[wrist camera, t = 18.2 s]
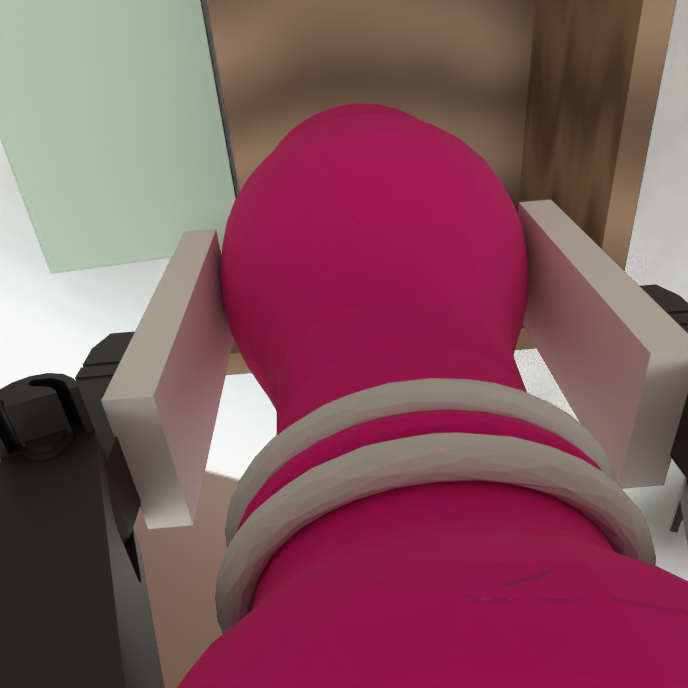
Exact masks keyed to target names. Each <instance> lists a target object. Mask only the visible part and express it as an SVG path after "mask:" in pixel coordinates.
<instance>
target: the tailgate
mask: <svg viewBox="0 0 688 688" xmlns="http://www.w3.org/2000/svg"><path fill="white" fill-rule="evenodd" d="M0 139H1V141H2V144H3V147H4V149H5V152H6V155H7V157H8V160H9V163H10V166H11V168H12V171H13V174H14V176H15V179H16V182H17V184H18V187H19V190H20V192H21V195H22V198H23V200H24V203H25V206H26V208H27V211H28V214H29V217H30V219H31V222H32V225H33V227H34V230H35V233H36V235H37V238H38V241H39V243H40V246H41V249H42V251H43V254H44V257H45V259H46V262H47V265H48V268H49V270H50V273H51V274H53V273H61V272H68V271H75V270H82V269H90V268H97V267H104V266H112V265H119V264H126V263H133V262H141V261H148V260H155V259H162V258H170V257H172V256H173V254H174V252H175V250H176V248H177V246H178V244H179V242H180V240H181V237H182V235H183V233H184V232H186V231H198V230H209V229H216V231H217V236H218V241H219V246H220V251H221V250H222V245H223V239H224V234H225V229H226V224H227V220H228V217H229V215H230V212H231V210H232V207H233V204H234V202H235V200H236V195H235V189H234V184H233V178H232V172H231V167H230V161H229V155H228V150H227V144H226V138H225V133H224V127H223V121H222V116H221V110H220V104H219V99H218V93H217V87H216V82H215V76H214V71H213V65H212V59H211V54H210V48H209V42H208V37H207V31H206V25H205V20H204V14H203V8H202V3H201V0H0Z"/></svg>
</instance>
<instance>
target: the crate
mask: <svg viewBox="0 0 688 688" xmlns="http://www.w3.org/2000/svg"><path fill="white" fill-rule="evenodd" d="M206 1H207V7H208V12H209V18H210V24H211V30H212V36H213V41H214V47H215V53H216V59H217V65H218V70H219V76H220V82H221V88H222V93H223V99H224V105H225V111H226V117H227V122H228V128H229V134H230V140H231V146H232V151H233V157H234V163H235V169H236V175H237V180H238V186H239V192H240V191H241V189H242V188H243V186H244V184H245V182H246V181H247V179H248V178H249V177H250V176H251V174H252V173H253V172H254V170H255V169H256V168H257V167H258V166H259V165H260V164H261V163H262V161H264V160H265V159H266V158H267V157H268V156H269V155H270V154H271V153H272V152H273V151H274V149H275V148H276V147H277V145H278V144H279V143H280V141H281V140H282V139H283V138H284V137H285V136H286V135H287V134H288V133H289V132H290V131H291V130H292V129H293V128H295V127H296V126H297V125H299V124H300V123H301V122H303V121H304V120H306V119H308V118H310V117H311V116H313V115H315V114H317V113H319V112H322V111H324V110H327V109H330V108H333V107H337V106H342V105H348V104H356V103H365V104H379V105H384V106H389V107H392V108H395V109H399V110H401V111H404V112H406V113H408V114H410V115H412V116H414V117H416V118H417V119H419V120H420V121H423V122H426V123H430V124H432V125H435V126H437V127H439V128H440V129H442V130H444V131H446V132H448V133H450V134H452V135H454V136H456V137H458V138H460V139H461V140H462V141H464V142H465V143H466V144H467V145H468V146H469V147H471V148H472V149H473V150H474V151H475V152H477V153H478V154H479V155H480V156H481V157H482V158H484V160H485V161H486V162H487V164H488V165H489V166H490V168H491V169H492V170H493V171H494V173H495V174H496V175H497V177H498V178H499V179H500V180H501V182H502V184H503V186H504V187H505V189H506V191H507V193H508V195H509V197H510V198H511V200H512V202H513V204H514V206H515V209H516V211H517V213H518V208H519V202H528V201H540V200H552V201H553V202H554V203H555V204H556V205H557V206H558V207H559V208H560V209H561V210H562V211H563V212H564V213H565V214H566V215H567V216H568V217H569V218H570V219H571V220H572V221H573V222H574V223H575V224H576V225H577V226H578V227H579V228H580V229H581V230H583V231H584V232H585V233H586V234H587V235H588V236H589V237H590V238H591V239H592V240H593V241H594V242H595V243H596V244H597V245H598V246H599V247H600V248H601V249H602V250H603V251H604V252H605V253H606V254H607V255H608V256H609V257H610V258H611V259H612V260H613V261H614V262H615V263H616V264H617V265H618V266H619V267H620V268H621V269H622V270H623V271H625V265H626V260H627V255H628V250H629V245H630V239H631V234H632V229H633V224H634V219H635V213H636V208H637V203H638V198H639V193H640V187H641V182H642V177H643V172H644V167H645V162H646V156H647V151H648V146H649V141H650V136H651V130H652V125H653V120H654V115H655V110H656V104H657V99H658V94H659V89H660V84H661V78H662V73H663V68H664V63H665V58H666V52H667V47H668V42H669V37H670V32H671V27H672V21H673V16H674V11H675V6H676V1H677V0H206ZM534 348H536V346H535V345H534V343H533V341H532V339H531V338H530V336H529V334H528V333H527V331H526V329H525V327H524V326H523V324H522V328H521V331H520V334H519V338H518V341H517V345H516V348H515V350H522V349H534ZM245 373H252V372H251V371H250V370H249V368H248V367H247V365H246V363H245V361H244V359H243V357H242V355H241V353H240V351H239V349H238V347H237V344H236V342H235V340H234V338H233V343H232V348H231V352H230V357H229V362H228V366H227V371H226V375H233V374H245Z"/></svg>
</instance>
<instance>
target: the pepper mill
mask: <svg viewBox="0 0 688 688" xmlns="http://www.w3.org/2000/svg"><path fill="white" fill-rule="evenodd" d="M220 276H221V288H222V300H223V306H224V309H225V313H226V316H227V320H228V323H229V326H230V330H231V333H232V336H233V338H234V340H235V342H236V344H237V347H238V349H239V351H240V353H241V355H242V357H243V359H244V361H245V363H246V365H247V367H248V368H249V370H250V371H251V372H252V374H253V375H254V377H255V378H256V380H257V381H258V383H259V384H260V385H261V387H262V388H263V390H264V391H265V393H266V394H267V395H268V397H269V398H270V400H271V402H272V404H273V405H274V407H275V409H276V411H277V435H276V436H275V437H274V438H273V439H272V440H271V441H270V442H269V443H268V444H267V445H266V446H265V447H264V448H263V449H262V450H261V451H260V452H259V454H258V455H257V456H256V457H255V458H254V459H253V461H252V462H251V464H250V465H249V467H248V468H247V470H246V471H245V473H244V474H243V476H242V477H241V479H240V480H239V482H238V485H237V487H236V489H235V491H234V493H233V496H232V498H231V502H230V505H229V509H228V513H227V521H226V528H225V533H226V544H227V551H226V553H225V556H224V558H223V561H222V563H221V566H220V569H219V572H218V575H217V583H216V595H215V600H216V609H217V618H218V622H219V625H220V627H221V630H222V633H223V635H222V636H220V637H219V638H218V639H217V640H215V641H214V642H213V643H212V644H211V645H210V646H209V647H208V649H207V650H206V651H205V652H204V653H203V655H202V656H201V657H200V659H199V660H198V661H197V662H196V663H195V664H194V666H193V667H192V668H191V669H190V670H189V672H188V673H187V674H186V676H185V677H184V679H183V680H182V682H181V683H180V684H179V686H178V687H177V688H688V581H686V580H684V579H682V578H680V577H678V576H676V575H673V574H671V573H669V572H667V571H665V570H663V569H661V568H659V567H657V566H655V564H656V556H655V552H654V548H653V543H652V539H651V535H650V531H649V528H648V526H647V524H646V522H645V520H644V518H643V516H642V514H641V512H640V510H639V509H638V508H637V506H636V505H635V504H634V503H633V502H632V501H631V499H630V498H629V497H628V496H627V495H626V494H625V492H624V491H623V490H622V489H621V488H620V486H619V485H618V484H617V480H616V476H615V472H614V469H613V467H612V465H611V463H610V461H609V459H608V457H607V455H606V453H605V451H604V450H603V448H602V447H601V446H600V444H599V443H598V442H597V440H596V439H595V438H594V437H593V435H592V434H591V433H590V432H589V431H588V430H587V429H586V428H585V427H583V426H582V425H581V424H580V423H579V422H578V421H577V420H575V419H574V418H573V417H572V416H571V415H569V414H568V413H566V412H564V411H563V410H561V409H559V408H558V407H556V406H554V405H553V404H551V403H549V402H547V401H544V400H542V399H540V398H538V397H535V396H533V395H531V394H529V393H527V391H526V389H525V386H524V383H523V381H522V378H521V375H520V373H519V370H518V367H517V365H516V362H515V360H514V351H515V348H516V345H517V341H518V338H519V334H520V331H521V328H522V324H523V320H524V316H525V311H526V307H527V302H528V280H529V270H528V254H527V245H526V240H525V235H524V230H523V226H522V223H521V221H520V218H519V216H518V213H517V211H516V209H515V206H514V204H513V202H512V200H511V198H510V197H509V195H508V193H507V191H506V189H505V187H504V186H503V184H502V182H501V180H500V179H499V178H498V177H497V175H496V174H495V173H494V171H493V170H492V169H491V168H490V166H489V165H488V164H487V162H486V161H485V160H484V158H482V157H481V156H480V155H479V154H478V153H477V152H475V151H474V150H473V149H472V148H471V147H469V146H468V145H467V144H466V143H465V142H464V141H462V140H461V139H460V138H458V137H456V136H454V135H452V134H450V133H448V132H446V131H444V130H442V129H440V128H439V127H437V126H435V125H432V124H430V123H426V122H423V121H420V120H419V119H417V118H416V117H414V116H412V115H410V114H408V113H406V112H404V111H401V110H399V109H395V108H392V107H389V106H384V105H379V104H365V103H356V104H348V105H342V106H337V107H333V108H330V109H327V110H324V111H322V112H319V113H317V114H315V115H313V116H311V117H310V118H308V119H306V120H304V121H303V122H301V123H300V124H299V125H297V126H296V127H295V128H293V129H292V130H291V131H290V132H289V133H288V134H287V135H286V136H285V137H284V138H283V139H282V140H281V141H280V143H279V144H278V145H277V147H276V148H275V149H274V151H273V152H272V153H271V154H270V155H269V156H268V157H267V158H266V159H265V160H264V161H262V163H261V164H260V165H259V166H258V167H257V168H256V169H255V170H254V172H253V173H252V174H251V176H250V177H249V178H248V179H247V181H246V182H245V184H244V186H243V188H242V189H241V191H240V193H239V195H238V196H237V198H236V200H235V202H234V204H233V207H232V210H231V212H230V215H229V217H228V220H227V224H226V229H225V234H224V239H223V245H222V255H221V265H220Z"/></svg>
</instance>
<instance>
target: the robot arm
mask: <svg viewBox="0 0 688 688" xmlns="http://www.w3.org/2000/svg"><path fill="white" fill-rule="evenodd" d="M518 216H519V218H520V221H521V223H522V226H523V230H524V235H525V240H526V245H527V254H528V270H529V280H528V302H527V307H526V311H525V316H524V320H523V326H524V327H525V329H526V331H527V333H528V334H529V336H530V338H531V339H532V341H533V343H534V345H535V346H536V348H537V350H538V351H539V353H540V355H541V357H542V358H543V360H544V362H545V363H546V365H547V367H548V369H549V370H550V372H551V374H552V375H553V377H554V379H555V381H556V382H557V384H558V386H559V387H560V389H561V391H562V393H563V394H564V396H565V398H566V399H567V401H568V403H569V405H570V406H571V408H572V410H573V411H574V413H575V415H576V416H577V418H578V420H579V422H580V423H581V425H582V426H583V427H585V428H586V429H587V430H588V431H589V432H590V433H591V434H592V435H593V437H594V438H595V439H596V440H597V442H598V443H599V444H600V446H601V447H602V448H603V450H604V451H605V453H606V455H607V457H608V459H609V461H610V463H611V465H612V467H613V469H614V472H615V476H616V480H617V484H618V485H619V486H620V488H621V489H622V488H634V487H646V486H658V485H664V482H665V479H666V476H667V472H668V469H669V465H670V462H671V459H673V460H674V462H675V463H676V464H677V466H678V467H679V469H680V470H681V471H682V473H683V474H684V475H685V479H684V482H683V486H682V489H681V492H680V495H679V498H678V501H677V505H676V508H675V511H674V514H673V517H672V520H671V526H670V531H672V532H678V528H679V525H680V522H681V521H683V520H684V526H685V532H686V538H687V544H688V303H687V302H686V301H685V300H684V299H683V298H682V297H681V296H679V295H677V294H675V293H673V292H671V291H669V290H666V289H664V288H662V287H660V286H658V285H644V286H639V285H638V284H637V283H636V282H635V281H634V280H633V279H632V278H631V277H630V276H628V275H627V274H626V273H625V272H624V271H623V270H622V269H621V268H620V267H619V266H618V265H617V264H616V263H615V262H614V261H613V260H612V259H611V258H610V257H609V256H608V255H607V254H606V253H605V252H604V251H603V250H602V249H601V248H600V247H599V246H598V245H597V244H596V243H595V242H594V241H593V240H592V239H591V238H590V237H589V236H588V235H587V234H586V233H585V232H584V231H583V230H581V229H580V228H579V227H578V226H577V225H576V224H575V223H574V222H573V221H572V220H571V219H570V218H569V217H568V216H567V215H566V214H565V213H564V212H563V211H562V210H561V209H560V208H559V207H558V206H557V205H556V204H555V203H554V202H553V201H552V200H540V201H528V202H519V208H518ZM220 265H221V251H220V246H219V241H218V236H217V231H216V229H209V230H198V231H186V232H184V233H183V235H182V237H181V240H180V242H179V244H178V246H177V248H176V250H175V252H174V254H173V256H172V258H171V260H170V262H169V264H168V266H167V268H166V270H165V272H164V274H163V276H162V278H161V280H160V282H159V284H158V286H157V288H156V290H155V292H154V294H153V296H152V298H151V301H150V303H149V305H148V307H147V309H146V311H145V313H144V315H143V317H142V319H141V321H140V323H139V325H138V327H137V329H136V331H135V332H124V333H113V334H110V335H108V336H107V337H106V338H105V339H103V340H102V341H101V342H100V343H99V344H97V345H96V346H95V347H94V348H92V350H91V352H90V353H89V355H88V357H87V358H86V360H85V362H84V364H83V368H81V369H80V370H79V372H78V374H77V376H76V377H75V379H76V381H75V380H74V378H71V377H69V376H67V375H64V374H54V373H46V374H40V375H35V376H29V377H27V378H24V379H21V380H18V381H16V382H13V383H11V384H9V385H7V386H5V387H4V388H2V389H0V688H164V682H163V676H162V671H161V664H160V659H159V653H158V647H157V642H156V636H155V630H154V624H153V618H152V613H151V607H150V601H149V595H148V590H147V584H146V578H145V572H144V566H143V561H142V555H141V549H140V545H139V542H138V539H137V537H136V534H135V532H134V529H133V526H134V523H135V520H136V517H137V513H138V511H139V507H141V510H142V513H143V516H144V518H145V521H146V524H147V526H148V529H153V528H165V527H176V526H187V525H193V523H194V518H195V514H196V509H197V504H198V500H199V495H200V490H201V486H202V481H203V477H204V472H205V467H206V463H207V458H208V454H209V449H210V444H211V440H212V435H213V431H214V426H215V421H216V417H217V412H218V408H219V403H220V398H221V394H222V389H223V385H224V380H225V375H226V371H227V366H228V362H229V357H230V352H231V348H232V343H233V336H232V333H231V330H230V326H229V323H228V320H227V316H226V313H225V309H224V306H223V300H222V288H221V276H220Z"/></svg>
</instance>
